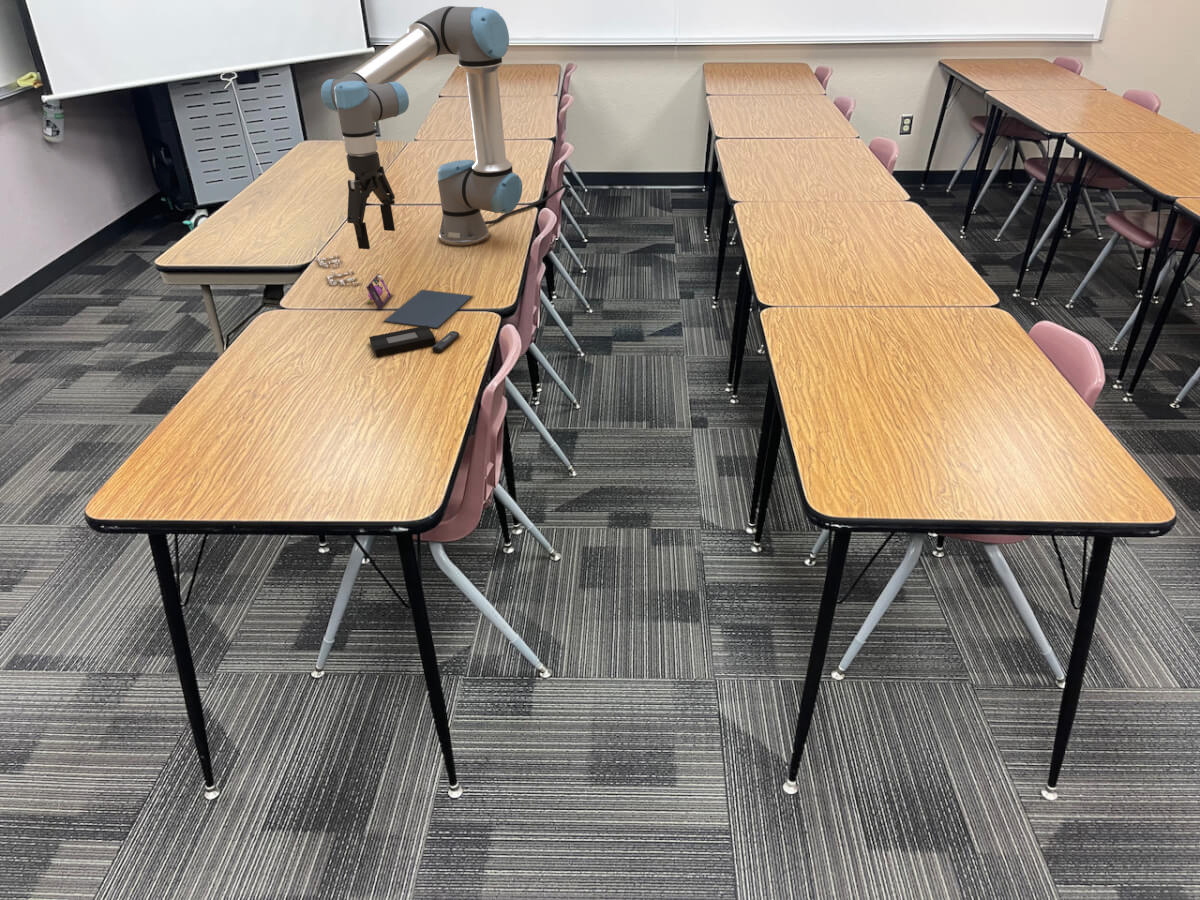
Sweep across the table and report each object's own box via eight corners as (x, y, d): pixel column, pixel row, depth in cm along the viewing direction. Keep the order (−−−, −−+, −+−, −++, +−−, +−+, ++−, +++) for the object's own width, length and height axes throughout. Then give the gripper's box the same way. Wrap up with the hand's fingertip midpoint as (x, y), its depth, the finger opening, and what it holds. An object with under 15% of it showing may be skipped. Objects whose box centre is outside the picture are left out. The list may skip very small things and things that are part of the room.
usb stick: (440, 353, 192) (440, 348, 191) (431, 352, 192) (430, 346, 192) (460, 336, 199) (460, 331, 198) (451, 335, 200) (450, 329, 199)
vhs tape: (370, 344, 196) (369, 336, 195) (428, 332, 201) (427, 325, 200) (376, 357, 191) (375, 349, 190) (436, 345, 195) (435, 337, 194)
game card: (369, 285, 209) (381, 272, 216) (352, 291, 211) (365, 278, 218) (382, 308, 212) (393, 294, 220) (365, 314, 214) (377, 300, 221)
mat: (422, 291, 222) (421, 289, 222) (471, 297, 218) (471, 295, 218) (384, 322, 207) (384, 320, 206) (437, 328, 203) (437, 327, 202)
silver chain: (340, 255, 246) (339, 251, 245) (357, 284, 227) (356, 279, 226) (316, 260, 243) (315, 255, 242) (331, 289, 224) (330, 284, 223)
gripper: (372, 139, 205) (386, 222, 217) (320, 165, 185) (339, 255, 197) (399, 140, 203) (412, 224, 215) (350, 167, 183) (367, 257, 195)
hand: (377, 239), depth 206 cm, fingers open, 13 cm apart
